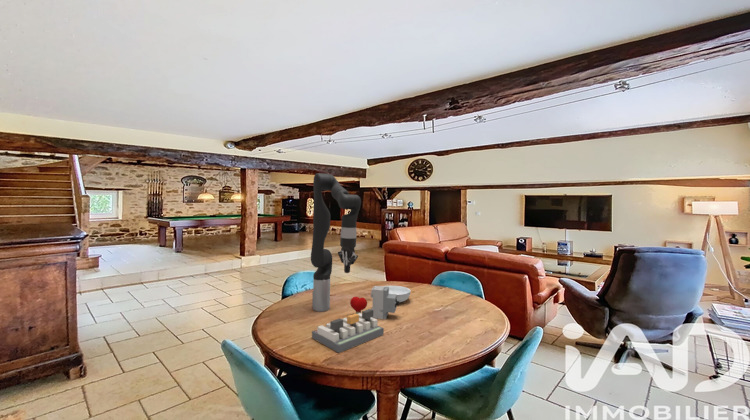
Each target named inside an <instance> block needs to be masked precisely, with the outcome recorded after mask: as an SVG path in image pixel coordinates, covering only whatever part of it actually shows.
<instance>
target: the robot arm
mask: <svg viewBox="0 0 750 420" xmlns="http://www.w3.org/2000/svg"><path fill="white" fill-rule="evenodd" d="M322 191H330V195H331V197H332V198H333V199H334V200H336V202H337V204H338V207H339V208H340V209H342V210H349V213H346V214H343V215H342V216H341V225H340V226H341V227H340V236H339V237H340V238H339V239H340V241H339V242H340V243H339V246H340V247H341V250H340V251H338V252H337V254H338V258H339V259H340V262H341V263H342V264H343V265H344V267H343V271H344V273H345V274H349V273H351V265H354V264H355V262H356V261H357V259H358V258H359V255H357V254H356V253H355V251H356V249H355V248H356V246H357V235H358V234H357V220H358V215H359V211H360V209H361V207H362V199H361V197H360V196H359V195H358V194H350V192H349V191H348V190H347V189H346V188H344V187H343V186H342V185H341V184H340V182H339V181H338V179H337V178H336V177H335V176H334V175H333V174H330V173H322V172H317V173H315V174H314V176H313V202H314V203H313V217H312V219H313V220H312V221H313V222H312V223H313V226H312V229H313V230H312V241H311V242H312V243H311V250H310V251H311V253H310V262H311V265H312V266H313V267H314V268H317V269H316V271H315V272H313V277H312V278H313V280H312V284H313V286H312V287H313V290H312V294H311V295H312V296H311V297H312V299H311V300H312V301H311V302H312V304H311V307H312V310H313V311H315V312H326V311H329V310H330V309H331V308H330V307H331V275H332V272H333V254H332V252H331V251H330V250H329V249H327V248H324V247H325V239H327V238H326V237H327V235H328V233H329V231H330V229H331V212H330V210H329V209H328V207H327V205H326V203H325V201H324V198H323V194H322Z"/></svg>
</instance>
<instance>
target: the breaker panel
mask: <svg viewBox="0 0 750 420" xmlns="http://www.w3.org/2000/svg"><path fill="white" fill-rule="evenodd" d="M358 315H359V322H356V331H355V327H353V326H350V324H348V323H347V317H344V318H337V319H334V320H330V321H329V322H327V323H326V324H325V326H324V325H323V324H321V325H319V326H317V329H316V330H312V331H311V338H312V339H313V340H315V341H316V340H317V341H316V342H318V341H319V342H318V343H320V344H321V345H323V344H324V346H325V347H327V348H329V349H330V350H332V351H335V352H337V353H338V354H340V353H342V352H345V351H348V350H350V349H353V348H354V347H356V346H359V345H362V344H364V343H366V342H369V341H371V340H374V339H377V338H378V337H381V336H383V335H384V331H385V330H384V327H382V326H380V325H378V321H379V320H378V319H376V318H372V317H373V310H372V309H371V308H368V309H364V310H361V313H359V314H358Z"/></svg>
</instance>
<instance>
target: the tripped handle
mask: <svg viewBox="0 0 750 420" xmlns="http://www.w3.org/2000/svg"><path fill="white" fill-rule="evenodd" d="M346 318H347V323H348V324H350V326H353V327H355V331H356V322H359V315H358V314H356V312H355V313H353V314H350V315H349V314H348V315H347V316H346Z"/></svg>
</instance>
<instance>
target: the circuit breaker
mask: <svg viewBox="0 0 750 420" xmlns="http://www.w3.org/2000/svg"><path fill="white" fill-rule="evenodd" d="M385 286H386V285H382V286H381V285H374V286H373V287H372V288H371V290H370V298H372V304H371V308H370V309H372V310H373V317H372V318H374V319H377V320H378V319H379V320H387V317H388V315H389V313H390V314H395V313H396V311H397V307H398V306H399V305H400V302H399V301H397V294H389V287H385Z"/></svg>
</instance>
